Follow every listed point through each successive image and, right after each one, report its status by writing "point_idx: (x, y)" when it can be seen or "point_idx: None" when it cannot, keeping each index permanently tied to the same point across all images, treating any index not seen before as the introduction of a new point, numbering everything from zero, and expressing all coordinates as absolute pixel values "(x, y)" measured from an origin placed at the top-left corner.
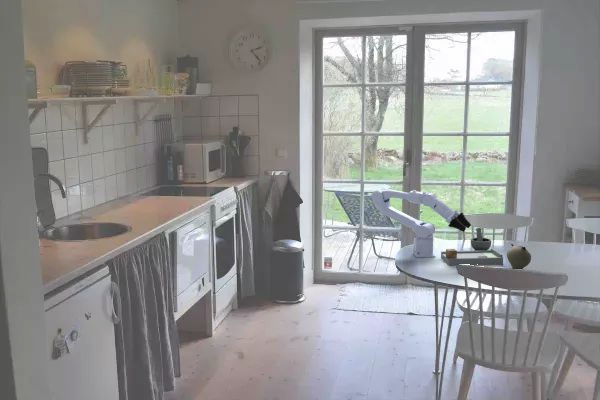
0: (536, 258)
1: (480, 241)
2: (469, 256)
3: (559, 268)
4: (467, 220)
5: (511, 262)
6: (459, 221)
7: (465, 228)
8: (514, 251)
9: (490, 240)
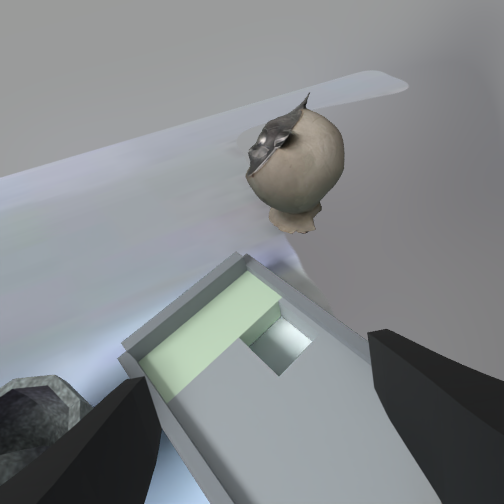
0: (96, 239)
1: (6, 467)
2: (313, 420)
3: (194, 163)
4: (67, 434)
5: (336, 182)
6: (486, 405)
7: (393, 334)
8: (336, 130)
9: (16, 383)
